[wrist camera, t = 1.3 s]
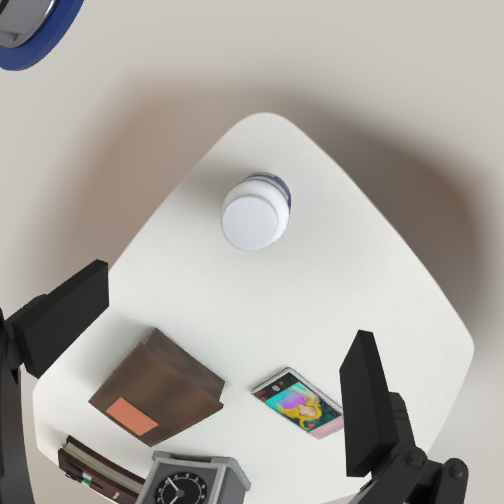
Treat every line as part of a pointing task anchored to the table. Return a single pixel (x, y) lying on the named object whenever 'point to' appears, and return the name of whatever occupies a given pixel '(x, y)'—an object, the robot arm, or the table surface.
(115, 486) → the decorative book
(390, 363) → the table surface
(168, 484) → the alarm clock
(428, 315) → the table surface
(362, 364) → the robot arm
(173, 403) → the wooden box
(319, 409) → the smartphone
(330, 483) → the table surface
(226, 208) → the pill bottle
